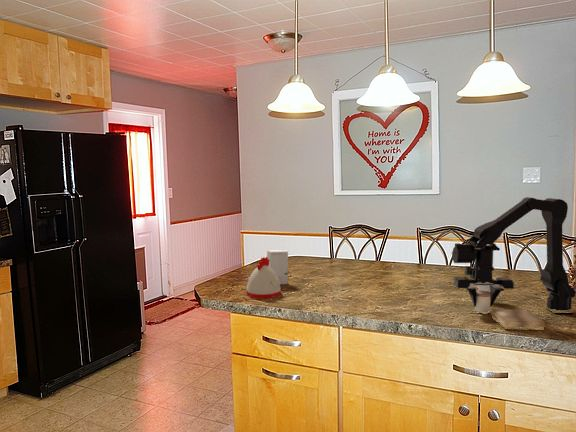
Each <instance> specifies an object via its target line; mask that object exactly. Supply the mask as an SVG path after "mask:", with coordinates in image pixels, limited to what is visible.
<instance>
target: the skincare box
mask: <svg viewBox="0 0 576 432" xmlns="http://www.w3.org/2000/svg"><path fill="white" fill-rule="evenodd" d="M266 257H268V259H270V261H269V266H268V267H270V268H271V269H272V270H273V271H274V273H275V274H276V276H277V278H279V280H280V286H281V285H288V283H289V282H288V277H289V271H288V270H289V268H288V266H289V262H288V261H289V251H288V250H285V249H270V250H266Z"/></svg>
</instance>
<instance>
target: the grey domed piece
mask: <svg viewBox="0 0 576 432" xmlns="http://www.w3.org/2000/svg"><path fill="white" fill-rule="evenodd" d="M269 261H270V259H268V257H267V256H266V257H260V261H258V264H256V268H255V269H254V270H253V271H252V272H251V275H250V276H248V277H247V286H246V296H247V297H250V298H252V299H253V298H254V299H270V298H271V299H272V298H277V297H279V296H280V295H281V293H282V290H281V285H280V280H279V278H277V276H276V274H275V273H274V271H273V270H272V269H271V268H270V267H268V266H269Z"/></svg>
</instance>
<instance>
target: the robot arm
mask: <svg viewBox="0 0 576 432" xmlns="http://www.w3.org/2000/svg"><path fill="white" fill-rule="evenodd" d="M568 209H569V207H568V203H567V202H566V201H565V200H564V199H560V198H552V197H549V198H548V197H547V198H546V199H538V198H534V197H528V196H526V197H524V198H522V199H521V201H519V202H518V203H517V204H515V205H514V206H512V207H511V208H509V209H508V210H506V211H505V212H504V213H503V214H501V215H499V217H498V216H497V218H495V219H494V220H492V221H488V222H486V223H483V224H481V225H479V226H477V227H476V228H475V229H474V230H473V234H472V236H471V238H469V240H468V241H467V242H466V243H460V242H459V243H458V242H455V243H454V247H453V249H452V252H451V258H452V261H453V263H454V264H473V263H474V264H473V267H472V266H470V265H466V266H464V276H455V277H454V278H453V285H454V286H455V287H457V288H458V289H465V290H466V291H468V294H469V296H470V299H471V302H472V306H473V307H474V308H475V307H476V291H477V289H476V288H475V286H477V285H490V289H489V292H490V293H491V299H490V308H491V307H492V306H493V305H494V303H495V302H496V299H497V297H499V295H500V293H501V292H504V291H505V290H504V289H507V290H508V289H509V290H511V289H514V287H515V283H514V281H513V280H512V279H511V278H509V277H508V276H505V277H504V276H497V277H496V278H495V279H494V278H493V275H494V274H493V271H494V270H495V267H494V251H501V250H500V247H499V246H497V244H496V243H495V242H496V241H497V240H498V239H499V238H500V237H501V236H502V234H503V232H504V231H505V230H506V229H507V228H509V227H511V226H512V225H513V224H515V223H516V222H517V221H519V220H521V218H523V217H525V216H526V215H527V214H529V213H530V212H531V211H532V210H536V211H540V212H541V216H542V218H543V221H544V223H545V224H546V226H545V228H546V229H545V230H546V259H547V260H546V265H545V267H544V268H541V269H540V270H539V271H540V281H541V283H542V285H543V286H544V287H545V288H546V291H547V292H549V293H548V296H547V298H546V299H547V300H546V307H548V308H550V309H556V310H569V309H571V310H572V303H573V302H572V299H573V298H575V297H576V290H575V289H574V288H573V287H572V286H571V285H570V283H569V277H568V272H566V269H565V267H564V253H563V249H564V248H563V224H564V222H565V220H566V219H567V215H568ZM466 276H469V278H470V279H469V278H468V277H466ZM492 278H493V279H492ZM478 282H481V283H478ZM485 282H489V283H485Z"/></svg>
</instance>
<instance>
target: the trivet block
mask: <svg viewBox="0 0 576 432" xmlns="http://www.w3.org/2000/svg"><path fill="white" fill-rule="evenodd" d="M490 315H492V316H493V317H495V318H496V319H497V320H498V321H499V322H500V323H501V324H502V325H503V326H505V327H528V326H529V327H533V326H534V327H545V328H546V322H544V320H543V319H541V318H540V317H539V316H538V315H536V314H535V313H533V312H531V311H530V310H529V309H492V310H490Z"/></svg>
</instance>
